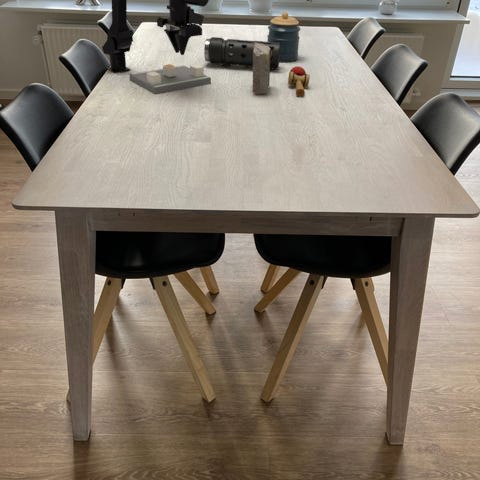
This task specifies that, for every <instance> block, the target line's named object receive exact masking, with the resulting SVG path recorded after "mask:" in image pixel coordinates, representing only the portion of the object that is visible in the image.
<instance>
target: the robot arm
mask: <svg viewBox="0 0 480 480" xmlns="http://www.w3.org/2000/svg"><path fill="white" fill-rule="evenodd" d="M127 1H128V0H111V24H110V26H109V28H108V30H107V38H106V41H105V42H104V44H103V45H102V47H101V49H102V53H103V54H105V55H108V57H109V66H106V69H107V70H109V71H110V72H112V73H115V74H116V73H121V72H122V73H123V72H128V71H130V70H131V68H129V67H127V61H126V53H127V52H130V51H131V46H132V44H133V42H134V37H133V36H134V35H133V34H134V31H133V29H130V27H129V25H128V23H127V19H128V17H127V12H128V11H127V9H128V7H127ZM208 3H209V0H168V4H167V5H166V10H169V15H166V16H165V15H164V16H163V15H162V16H159V17H158V18H157V20H156V26H157V27H159V28H163V27H164V26H165V28H164V30H163V31H164V32H165V34H166V36H167V37H168V40H169V41H170V44H171V45H172V48H173V50H174V51H175V52H174V53H177V54H180V56H184V55H185V53H186V49H187V46H188V43H189V40H190V38H192V37H199V36H203V28H202V26H203V22H204V19H205V15H202V14H201V13H197V12H195V9H194V8H192V7H191V6H196V7H197V6H198V7H206V6H207V4H208ZM190 5H191V6H190Z"/></svg>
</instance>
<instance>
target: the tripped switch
mask: <svg viewBox="0 0 480 480" xmlns="http://www.w3.org/2000/svg"><path fill="white" fill-rule="evenodd" d="M162 69H163V74H164V75H166V76H168V77H173V76H177V68H176V66H175V65H173V64H171V63H169V64H164V65H162Z"/></svg>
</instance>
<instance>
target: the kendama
mask: <svg viewBox="0 0 480 480" xmlns="http://www.w3.org/2000/svg"><path fill="white" fill-rule="evenodd" d="M310 76H311V75H310V74H309V73H307V72H306V70H305V69H304V68H303V66H302V67H301V66H297V65H296V66H294V67H292V68H291V69H290V71H289V73H288V78H287V85H289V86H292V85H295V94H296V97H298V98H303V97H304V96H305V93H306V92H305V89H307V88H308V86H309V84H310V78H311V77H310Z"/></svg>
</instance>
